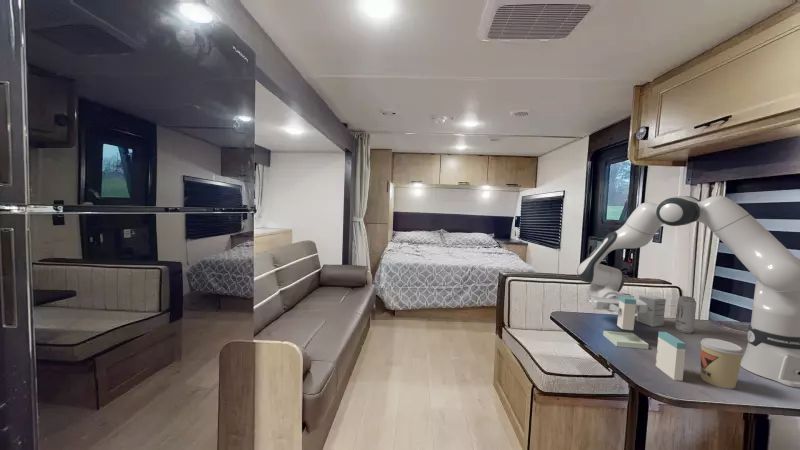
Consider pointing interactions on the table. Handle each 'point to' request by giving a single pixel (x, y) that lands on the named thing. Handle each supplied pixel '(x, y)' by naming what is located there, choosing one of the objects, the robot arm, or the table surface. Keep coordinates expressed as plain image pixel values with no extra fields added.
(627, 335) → the tray
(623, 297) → the white teal-topped block
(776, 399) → the table surface
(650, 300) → the supplement box
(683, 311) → the energy drink can
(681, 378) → the teal and white box
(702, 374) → the coffee cup
